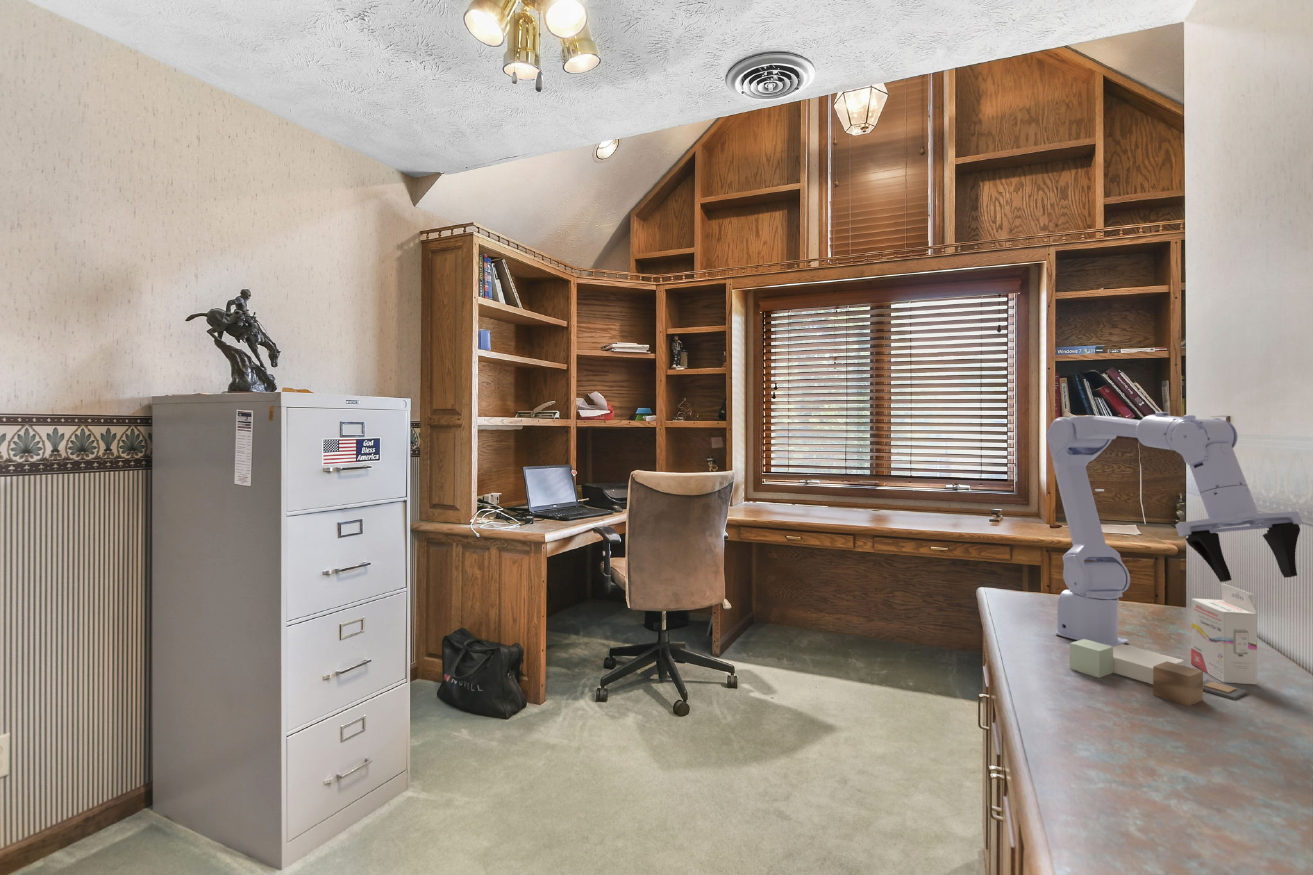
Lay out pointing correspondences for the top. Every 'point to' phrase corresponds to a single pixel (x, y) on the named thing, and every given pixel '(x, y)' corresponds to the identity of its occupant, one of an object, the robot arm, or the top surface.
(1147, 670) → the base block
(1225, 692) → the tile
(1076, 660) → the sage block
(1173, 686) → the walnut block
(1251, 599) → the ink cartridge box
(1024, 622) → the top surface
